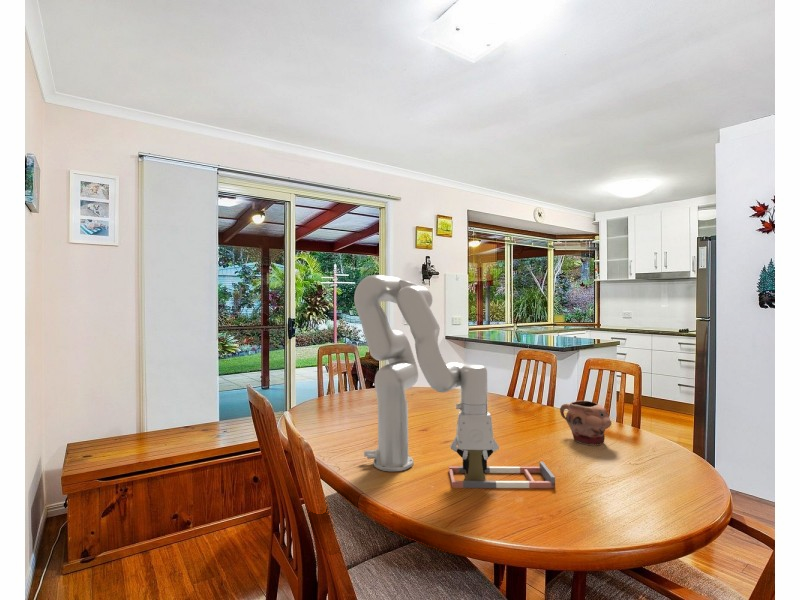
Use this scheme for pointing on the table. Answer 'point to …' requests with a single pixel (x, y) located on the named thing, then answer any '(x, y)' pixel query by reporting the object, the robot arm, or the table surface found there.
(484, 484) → the frame
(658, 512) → the table surface
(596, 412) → the sculpted ceramic mug
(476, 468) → the cork
